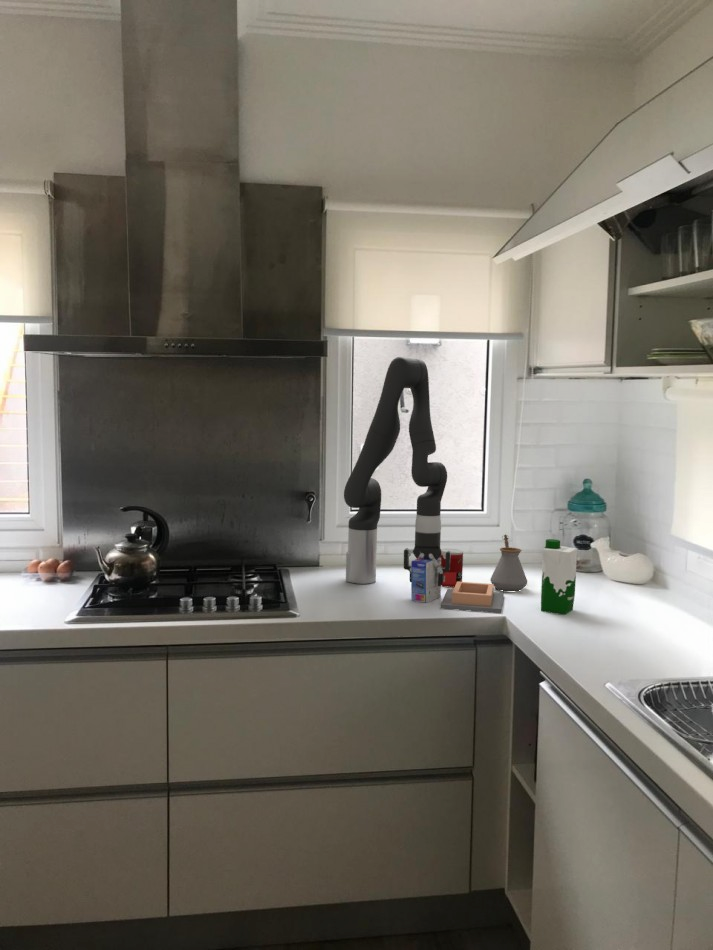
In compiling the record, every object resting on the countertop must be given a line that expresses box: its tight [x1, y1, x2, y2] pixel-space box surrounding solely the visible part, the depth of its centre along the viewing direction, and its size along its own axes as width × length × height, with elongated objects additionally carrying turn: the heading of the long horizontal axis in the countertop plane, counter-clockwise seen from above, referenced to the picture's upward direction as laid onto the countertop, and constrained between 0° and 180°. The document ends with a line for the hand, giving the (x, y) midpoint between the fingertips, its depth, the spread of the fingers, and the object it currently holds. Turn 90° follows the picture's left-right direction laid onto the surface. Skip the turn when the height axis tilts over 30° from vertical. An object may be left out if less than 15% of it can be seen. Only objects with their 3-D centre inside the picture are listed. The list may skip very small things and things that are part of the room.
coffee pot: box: [490, 534, 528, 592], centre depth 266 cm, size 21×12×15 cm, turn 176°
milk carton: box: [540, 538, 578, 616], centre depth 237 cm, size 9×9×20 cm
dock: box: [439, 581, 505, 614], centre depth 244 cm, size 17×20×4 cm
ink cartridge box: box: [410, 551, 442, 604], centre depth 247 cm, size 10×6×14 cm, turn 148°
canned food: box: [440, 548, 464, 588], centre depth 266 cm, size 8×8×11 cm
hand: (426, 584), depth 247 cm, fingers open, 7 cm apart
